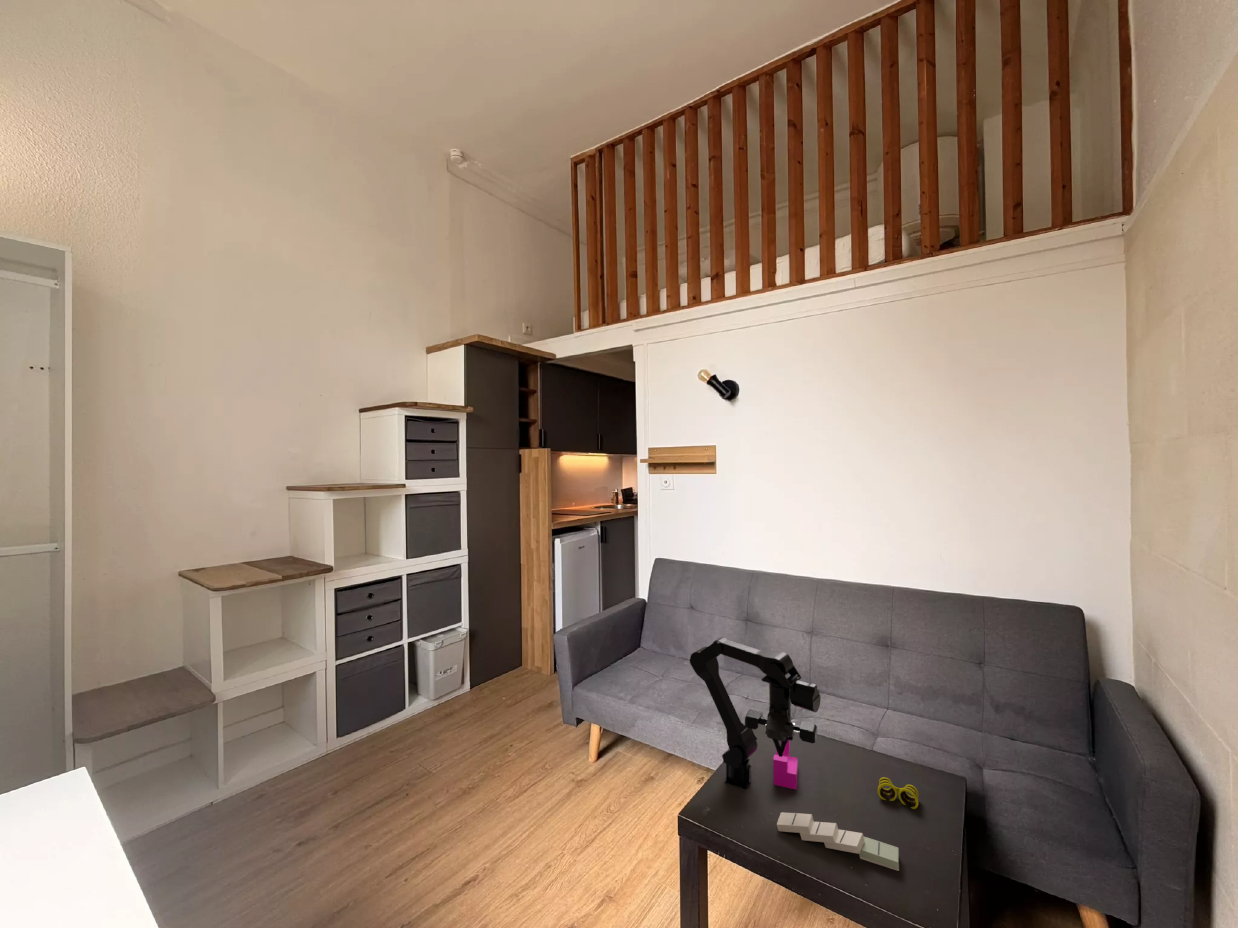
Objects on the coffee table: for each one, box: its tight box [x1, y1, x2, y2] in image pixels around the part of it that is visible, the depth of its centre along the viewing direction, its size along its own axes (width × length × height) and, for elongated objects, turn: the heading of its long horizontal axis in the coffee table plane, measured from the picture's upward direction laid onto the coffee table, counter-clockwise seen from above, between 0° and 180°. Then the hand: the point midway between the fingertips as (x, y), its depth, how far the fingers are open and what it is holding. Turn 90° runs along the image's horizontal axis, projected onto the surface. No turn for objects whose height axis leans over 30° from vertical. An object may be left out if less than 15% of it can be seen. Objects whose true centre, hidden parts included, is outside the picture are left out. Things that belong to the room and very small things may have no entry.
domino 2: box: [799, 821, 839, 843], centre depth 121 cm, size 2×5×8 cm
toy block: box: [772, 740, 799, 791], centre depth 148 cm, size 15×6×8 cm, turn 158°
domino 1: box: [776, 812, 815, 834], centre depth 124 cm, size 2×5×8 cm
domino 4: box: [859, 856, 900, 872], centre depth 116 cm, size 2×5×8 cm
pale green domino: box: [859, 836, 899, 869], centre depth 115 cm, size 2×5×8 cm
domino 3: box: [823, 828, 865, 855], centre depth 118 cm, size 2×5×8 cm
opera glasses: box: [877, 777, 919, 810], centre depth 135 cm, size 10×5×5 cm, turn 58°
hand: (780, 755), depth 136 cm, fingers closed
